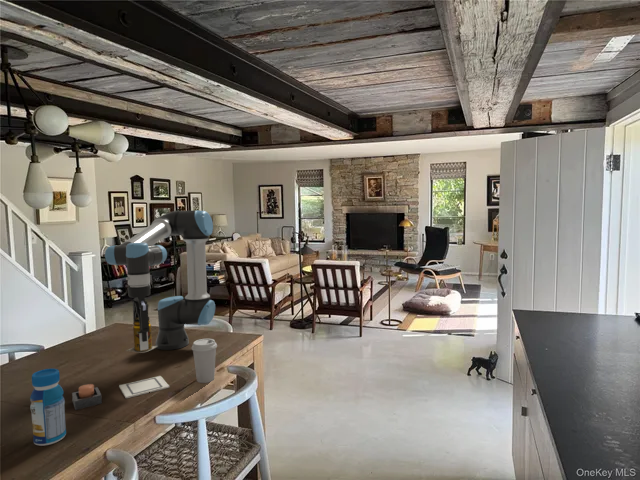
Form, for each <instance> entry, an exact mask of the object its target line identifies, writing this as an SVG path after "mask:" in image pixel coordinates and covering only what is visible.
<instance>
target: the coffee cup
mask: <svg viewBox="0 0 640 480" xmlns="http://www.w3.org/2000/svg"><path fill="white" fill-rule="evenodd" d="M192 343H193V344H192V346H191V350H192V353H193V359H194V361H193V362H194V367H195V368H194V369H195V376H196V382H198V383H200V384H208V383H211V382H213V381H214V380H215V376H216V375H215V373H216V372H215V371H216V369H215V368H216V354H217V351H216V350H217V347H218V344H217V342H216V341H215V339H214V338H202V339H201V338H200V339H197V340H195V341H193V342H192Z"/></svg>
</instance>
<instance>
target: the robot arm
mask: <svg viewBox="0 0 640 480" xmlns="http://www.w3.org/2000/svg"><path fill="white" fill-rule="evenodd" d="M213 230H214V224H213V219H212V216H211V215H210V214H209V212H207V211H206V210H197V209H196V210H172V211H170V212H167V213H165V214H163V215H161V216H159V217H157V218H155V219H154V220H153V221H152V222H151V225H149V226H147V227H146V228H145V229H143V230H141V231H140V232H138V233H137V234H135V235H133V236H132V237H130V238H129V239H127V240H126V241H124V242H123V243H122V244H120V245H110V246H108V247H107V248H106V249H105V251H104V258H105V262H107V264H109V265H112V266H126V270H127V271H126V273H127V277H125V280H126V281H127V285H128V287H127V294H128V295H127V296H128V297H129V298H133V299H132V313H133V314H132V317H133V319H132V320H133V321H132V322H133V323H132V324H133V325H134V319H135V318H136V317H139V326H140V332H138V333H139V336H140V350H141V351H142V350H147V349H148V331H149V323H150V322H149V321H150V318H149V319H148V317H149V304H148V301H147V300H146V297H149V296H151V285H150V283H151V275H150V274H151V273H150V267H153V266H158V265H160V264H162V263H164V262H165V261H166V260H167V258H168V252H167V249H166V248H165V247H164V246H163V245H160V244H156V243H158V242H159V241H161V240H162V239H167V238H169V237H172V236H182V240H183V242H185V244H186V266H187V269H186V271H187V272H186V273H187V294H186V295H185V297H184V296H182V295H175V296H169V297H165V298H163V299H160V300H159V301H158V302H157V317H158V321H157V322H158V333H157V336H156V338H155V339H156V340H155V346H158V347H155V349H157V350H161V351H162V350H163V351H172V350H178V349H181V348H185V347H187V346H188V345H189V344H190V343H189V340H190V339H189V336H188V334H187V331H186V329H185V325H186V326H187V325H189V326H191V325H192V326H193V325H194V326H207V325H209V324H211V322H212V321H213V318H214V316H215V313H216V304H215V303H216V302H215V301H214V300H212V299H211V295H210V293H208V292H207V291H208V286H207V285H208V284H207V256H206V255H207V253H206V243H207V242H208V241H209V236H211V235H212V234H213Z"/></svg>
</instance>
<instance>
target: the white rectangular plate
mask: <svg viewBox="0 0 640 480" xmlns="http://www.w3.org/2000/svg"><path fill="white" fill-rule="evenodd" d="M118 388H119V389H120V391H121V393H122V395H123V396H124V397H125V399H129V398H133V397H134V398H135V397H137V396H142V395H146V394H150V393H154V392H158V391H162V390H165V389H170V384H168V383H167V382H166V380H165V379H164V378H163V377H162V376H161V375H158V376H154V377H150V378H145V379H141V380H137V381H133V382H128V383H123V384H119V386H118ZM149 392H150V393H149Z"/></svg>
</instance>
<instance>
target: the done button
mask: <svg viewBox="0 0 640 480" xmlns="http://www.w3.org/2000/svg"><path fill="white" fill-rule="evenodd" d="M94 388H95V385H94V384H93V383H86V384H83V385H80V386H79V387H78V391H79V398H86V397H90V396H93V395H94Z"/></svg>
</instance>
